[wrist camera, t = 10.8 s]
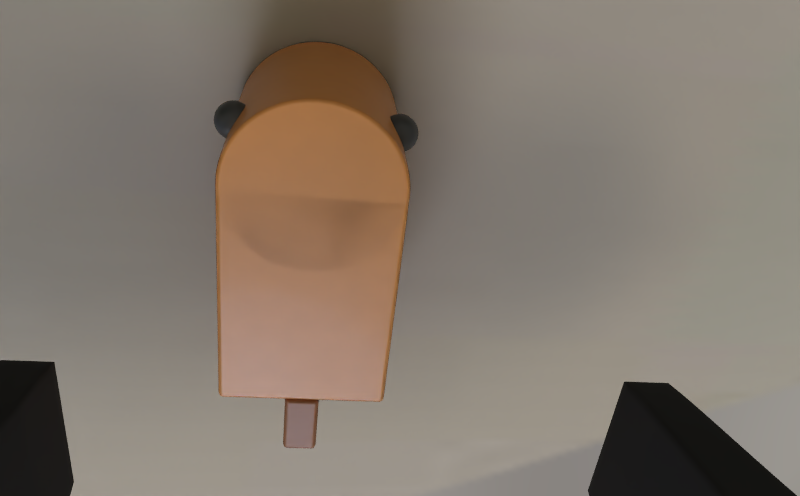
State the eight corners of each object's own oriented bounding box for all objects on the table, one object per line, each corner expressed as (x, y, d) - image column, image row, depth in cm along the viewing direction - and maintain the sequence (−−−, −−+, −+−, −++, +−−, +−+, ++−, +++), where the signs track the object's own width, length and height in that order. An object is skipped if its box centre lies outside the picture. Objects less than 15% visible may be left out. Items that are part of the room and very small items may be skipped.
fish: (375, 352, 19) (383, 454, 16) (232, 346, 19) (211, 450, 16) (411, 49, 15) (431, 108, 12) (231, 33, 15) (203, 89, 12)
